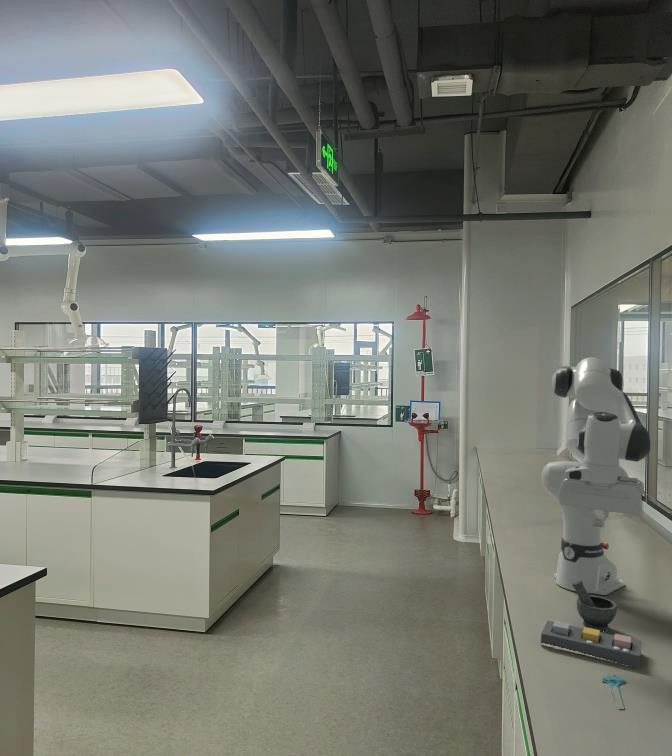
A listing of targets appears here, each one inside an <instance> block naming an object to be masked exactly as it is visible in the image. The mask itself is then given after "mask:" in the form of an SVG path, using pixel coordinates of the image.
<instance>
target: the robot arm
mask: <svg viewBox="0 0 672 756" xmlns="http://www.w3.org/2000/svg"><path fill="white" fill-rule="evenodd" d="M551 378H552V379H551V387H552V390H553V392H554V394H555V395H556V396H557V397H559V398H565V399H566V398H570V399H573V400H572V401H571V402H570V404H569V407H568V410H567V416H566V432H565V434H566V436H565V439H566V440H565V443H566V449H567V450H568V452H569V453H570V454H571V455H572V456H574V457H576V458H577V459H579V460H581V461H569V460H560V461H559V460H558V461H551V462H548V463H547V464H546V465H544V467H543V469H542V471H541V476H540V478H541V479H540V480H541V483H542V485H543V486H542V487H543V488H544V489H545V491H547V492H548V493H549V494H550V496H552V497H553V498H554V499H555V500H556V502H557V503H558V505H559V507H560V509H561V514H562V523H563V530H562V531H563V533H562V537H561V542H560V550H561V552H560V553H559V554H558V560H557V568H556V572H554V573H553V577H554V578H555V583H556V584H557V585H558V586H559V587H562V588H563V589H566V590H568V591H572V592H576V590H575V588H574V587H573V586H572V583H573V582H575V581H577V580H581V581H582V582H583V586H584V588H585V589H586V591H587V593H588V594H595V595H601V596H607V595H609V594H610V593H613V592H615V591H616V590H618V589H620V588H623V587H624V586H625V585H626V583H625V581H624V580H622V579H621V578H619V577H618V576H617V575H618V574H617V566H616V564H615V563H614V562H613V561H611V559H609V558H608V557H607V556H606V555H605V553H604V550H609V548H610V544H609V543H608V542H604V541H602V542H601V540H602V539H601V538H602V528H605V521H606V520H607V519H608V517H609V515H610V513H611V512H613V513H618V514H627V515H634V516H638V515H639V514H640V513H642V496H643V494H644V491H645V490H644V489H645V484H644V483H643V482H642V481H641V480H639V479H638V478H636V477H629V475H628V472H627V471H626V470H625V469H624V468H623V467H622V466H620V460H624V461H629V462H630V461H631V462H636V463H637V462H640V461H641V460H643V459H645V458H646V457H647V456H648V455H649V454H650V451H651V444H652V443H651V437H650V433H649V431H648V429H647V428H646V427H645V426H644V425H643V423H642V422H641V419H640V417H639V415H638V413H637V412H636V409H635V407H634V405H633V403H632V401H631V399H630V398H629V396H628V394H627V393H625V392H623V390H624V387H625V386H624V385H625V384H624V383H625V382H624V378H623V375H622V373H621V371H619V370H617V369H614V368H611V367H609V368H608V367H607V365H606V363H605V362H604V361H603V360H602V359H600V358H597V357H592V356H591V357H587V358H583V359H582V360H580V361H579V362H577V364H576V366H568V365H566V366H561V367H558V368H557V369H556V370H555V372H554V373H553V375H552V377H551ZM595 510H598V511H602V515H603V517H602V518H601V517H600V515H599V514H598V513H597V512H595Z"/></svg>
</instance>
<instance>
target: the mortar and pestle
mask: <svg viewBox="0 0 672 756" xmlns="http://www.w3.org/2000/svg"><path fill="white" fill-rule="evenodd" d="M572 586H573V587H574V588H575V590H576V591H575V592H576V594H577V596H578V597H577V599H576V609H577V612H578V614H579V616H580V617H581V619H582V620H583V622H582V626H583V625H584V626H585V627H587V628H592V629H596V630H600V632H603V631H604V633H607V632H608V631H609V625H610V624H611V623H612V622H613V620H614V619H615V618H616V615H617V612H618V605H617V604H616V603H615V602H614V601H613V600H611V599H608V598H605V597H603V596H597V595H592V594H591V595H589V594H590V593H587V591H586V589H585V588H584V586H583V582H582V581H581V580H577V581H575V582H573V583H572ZM584 626H583V627H584ZM607 630H608V631H607ZM606 631H607V632H606Z"/></svg>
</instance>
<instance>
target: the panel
mask: <svg viewBox="0 0 672 756" xmlns="http://www.w3.org/2000/svg"><path fill="white" fill-rule="evenodd" d="M554 622H555V621H551V620H547V621H546V623H545V624H544V627H543V629H542V631H541V633H540V634H541V635H540V644H541V643H545V644H550V645H553V646H558V647H561V648H566V649H569V650H573V651H578V652H581V653H584V654H588V655H592V656H595V657H599V658H603V659H606V660H610V661H613V662H617V663H620V664H619V665H621V664H624V665H623V666H625V665H628V666H627V667H630V666H632V667H631V668H634V667H637V668H636V669H638V668H639V669H640V666H641V665H640V664H641V657H640V656H642V640H639V639H633V638H631V648H630V650H629V649H625V648H620V647H616V646H614V636H615V634H611V633H607V632H604V633H602V632H600V639H599V643H598V642H594V641H589V640H585V639H582V634H583V629H584V627H578V626H573V625H570V632H569V635H568V636H567V635H563V634H558V633H554V632H552V629H553V624H554ZM613 662H612V663H613ZM617 663H616V664H617Z"/></svg>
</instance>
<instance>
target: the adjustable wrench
mask: <svg viewBox="0 0 672 756" xmlns="http://www.w3.org/2000/svg"><path fill="white" fill-rule="evenodd" d="M614 677H615V678H614ZM602 680H604V681H607V682H608V683H609V684H610V685H611V687H612V686H616V687H617V688H618V692H619V695H620V698H621V697H622V694H621V690H620V686H619V685H620V684H621V683H622V684H625V683H626V684H627V681H626V680H625V678H622V677H620V676H619V675H615V674H613V677H612V676H611V674H608V675H606V676H605V677H602V679H601V681H602ZM608 683H607V684H608ZM612 683H613V684H612ZM609 684H608V685H609ZM622 684H621V685H622ZM610 685H609V686H610ZM611 687H610V688H611ZM612 689H613V687H612ZM619 690H620V691H619ZM613 695H614V693H613ZM613 695H612V696H613ZM614 697H615V695H614ZM621 700H622V701H623V698H622V699H621Z"/></svg>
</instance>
